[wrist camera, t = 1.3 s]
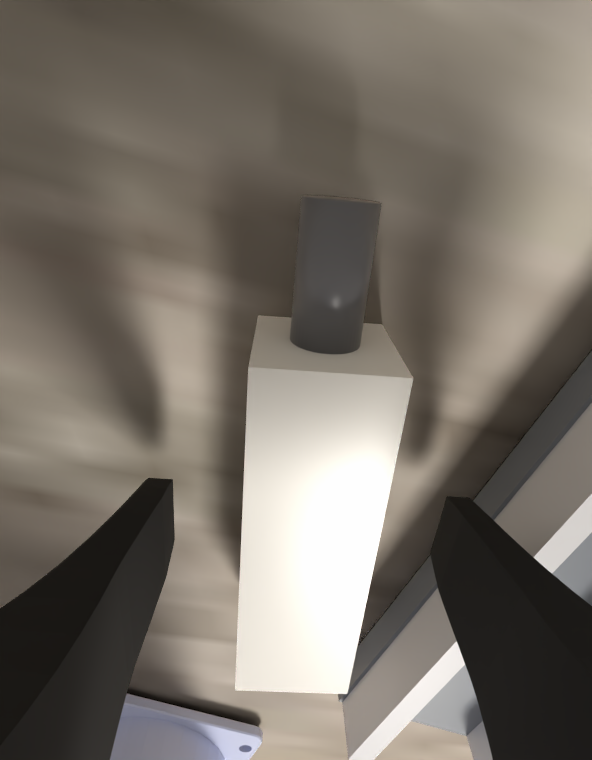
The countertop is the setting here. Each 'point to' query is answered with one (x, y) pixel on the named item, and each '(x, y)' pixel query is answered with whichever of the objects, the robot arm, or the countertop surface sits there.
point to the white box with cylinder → (317, 460)
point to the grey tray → (424, 604)
